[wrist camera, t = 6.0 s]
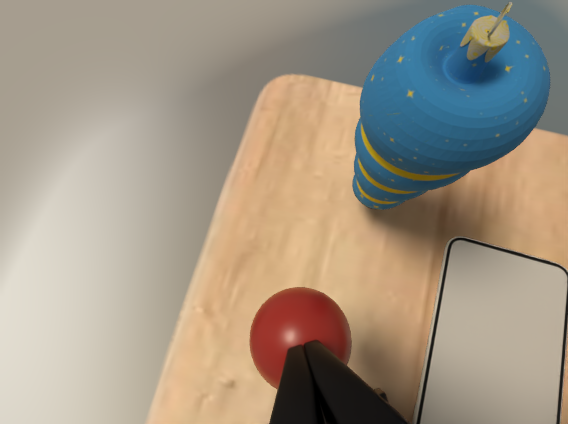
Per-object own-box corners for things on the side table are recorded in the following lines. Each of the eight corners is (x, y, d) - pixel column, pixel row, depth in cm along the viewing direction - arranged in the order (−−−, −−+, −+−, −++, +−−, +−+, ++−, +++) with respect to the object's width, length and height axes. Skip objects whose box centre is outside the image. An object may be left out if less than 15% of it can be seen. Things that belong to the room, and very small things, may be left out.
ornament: (422, 190, 22) (665, -31, 8) (386, 258, 21) (595, 146, 7) (350, 152, 23) (453, -112, 9) (311, 216, 22) (357, 34, 8)
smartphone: (574, 266, 21) (551, 568, 17) (565, 268, 21) (541, 559, 17) (448, 231, 21) (398, 512, 17) (443, 234, 22) (394, 505, 18)
